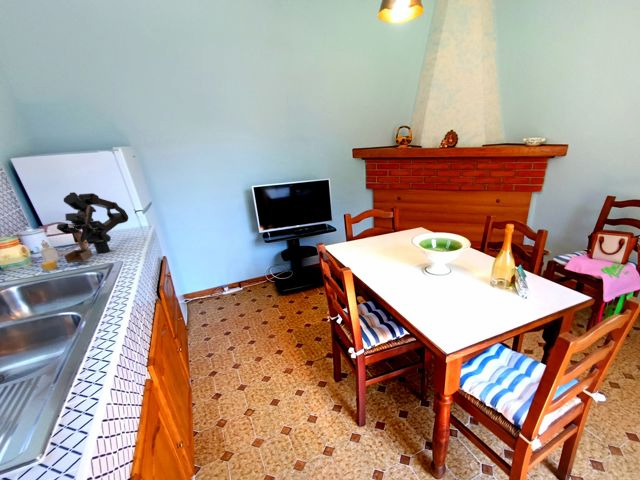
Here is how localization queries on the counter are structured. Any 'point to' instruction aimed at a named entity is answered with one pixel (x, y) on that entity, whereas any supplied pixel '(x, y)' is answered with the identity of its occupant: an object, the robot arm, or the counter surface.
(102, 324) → the counter surface
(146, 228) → the counter surface
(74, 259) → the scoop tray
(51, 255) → the eye dropper bottle
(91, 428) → the counter surface
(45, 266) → the block
